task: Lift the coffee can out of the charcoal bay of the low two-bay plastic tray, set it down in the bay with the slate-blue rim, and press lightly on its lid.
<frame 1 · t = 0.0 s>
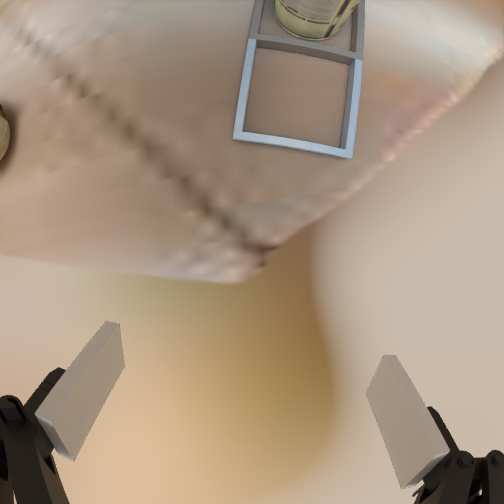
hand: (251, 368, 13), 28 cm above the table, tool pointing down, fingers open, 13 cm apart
bay tray: (304, 51, 32), on the table
coffee can: (308, 14, 30), resting in bay tray
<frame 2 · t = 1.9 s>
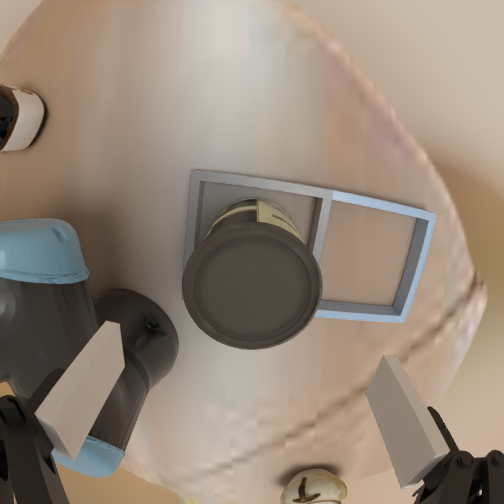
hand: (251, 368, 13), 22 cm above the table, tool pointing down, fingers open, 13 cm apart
bay tray: (311, 249, 34), on the table
sugar bowl: (311, 474, 51), on the table
coffee can: (253, 240, 34), resting in bay tray
spread jar: (21, 125, 29), on the table
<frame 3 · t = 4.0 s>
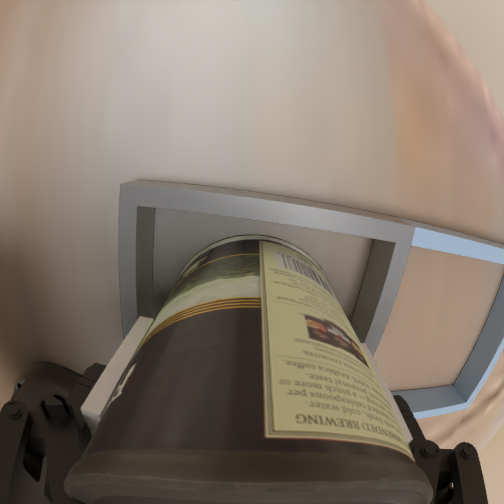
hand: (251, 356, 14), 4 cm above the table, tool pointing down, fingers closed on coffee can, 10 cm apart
bay tray: (356, 324, 18), on the table
coffee can: (253, 312, 18), resting in bay tray, touching gripper
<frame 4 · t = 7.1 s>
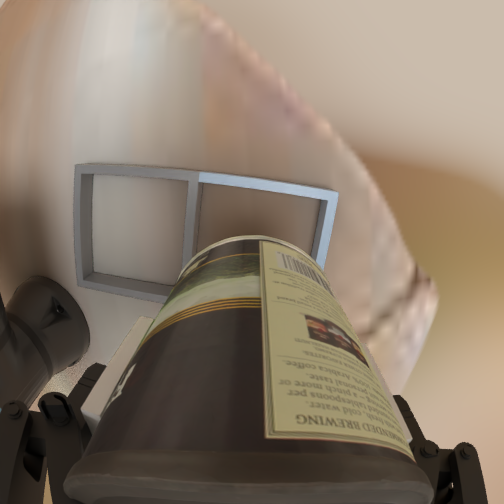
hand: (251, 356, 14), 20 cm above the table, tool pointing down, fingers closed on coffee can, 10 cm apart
bay tray: (193, 237, 32), on the table
coffee can: (253, 312, 18), point 15 cm above the table, touching gripper
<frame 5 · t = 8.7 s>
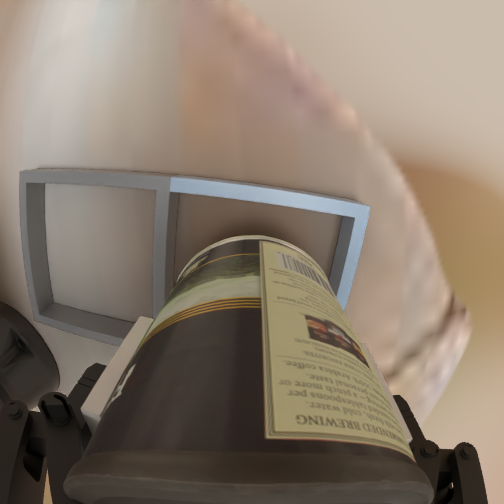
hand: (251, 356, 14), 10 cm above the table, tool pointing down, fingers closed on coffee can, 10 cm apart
bay tray: (168, 264, 24), on the table
coffee can: (253, 313, 18), point 6 cm above the table, touching gripper
when the fingers open (6 cm above the table, at t = 10.2 s): coffee can drops 1 cm, resting in bay tray.
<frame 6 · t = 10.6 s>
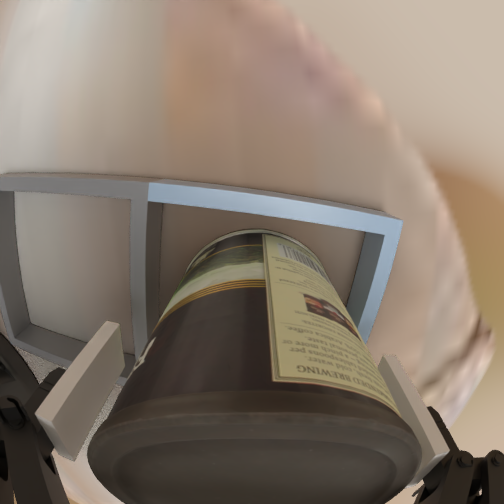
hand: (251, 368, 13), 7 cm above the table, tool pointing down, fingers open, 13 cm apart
bay tray: (152, 288, 19), on the table
coffee can: (256, 302, 20), resting in bay tray
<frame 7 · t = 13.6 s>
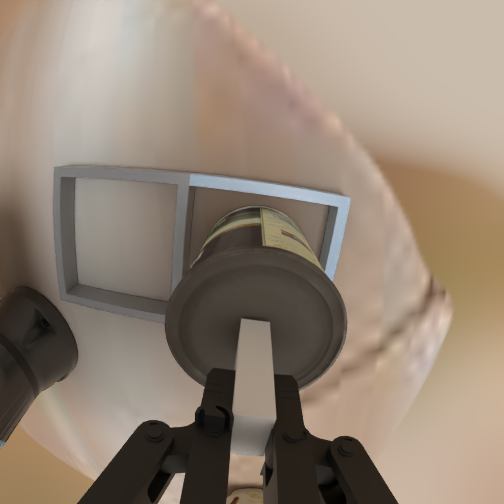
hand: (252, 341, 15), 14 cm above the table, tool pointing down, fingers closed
bay tray: (184, 247, 29), on the table
sugar bowl: (251, 493, 45), on the table
coffee can: (256, 256, 29), resting in bay tray, touching gripper
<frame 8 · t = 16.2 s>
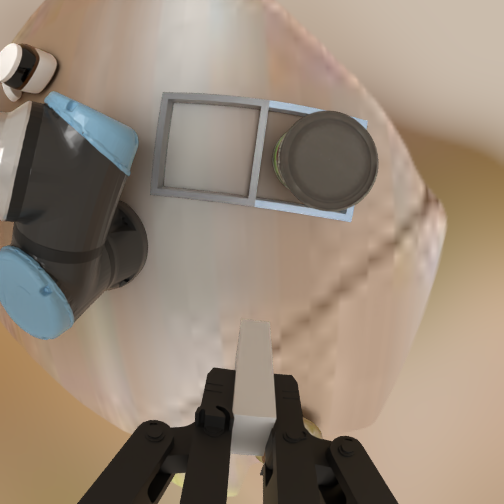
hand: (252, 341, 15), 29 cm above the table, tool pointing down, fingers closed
bay tray: (258, 152, 40), on the table
sugar bowl: (285, 421, 57), on the table
coffee can: (307, 160, 40), resting in bay tray
spread jar: (37, 78, 35), on the table
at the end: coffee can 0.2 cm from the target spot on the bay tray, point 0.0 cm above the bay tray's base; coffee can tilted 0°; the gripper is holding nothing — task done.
